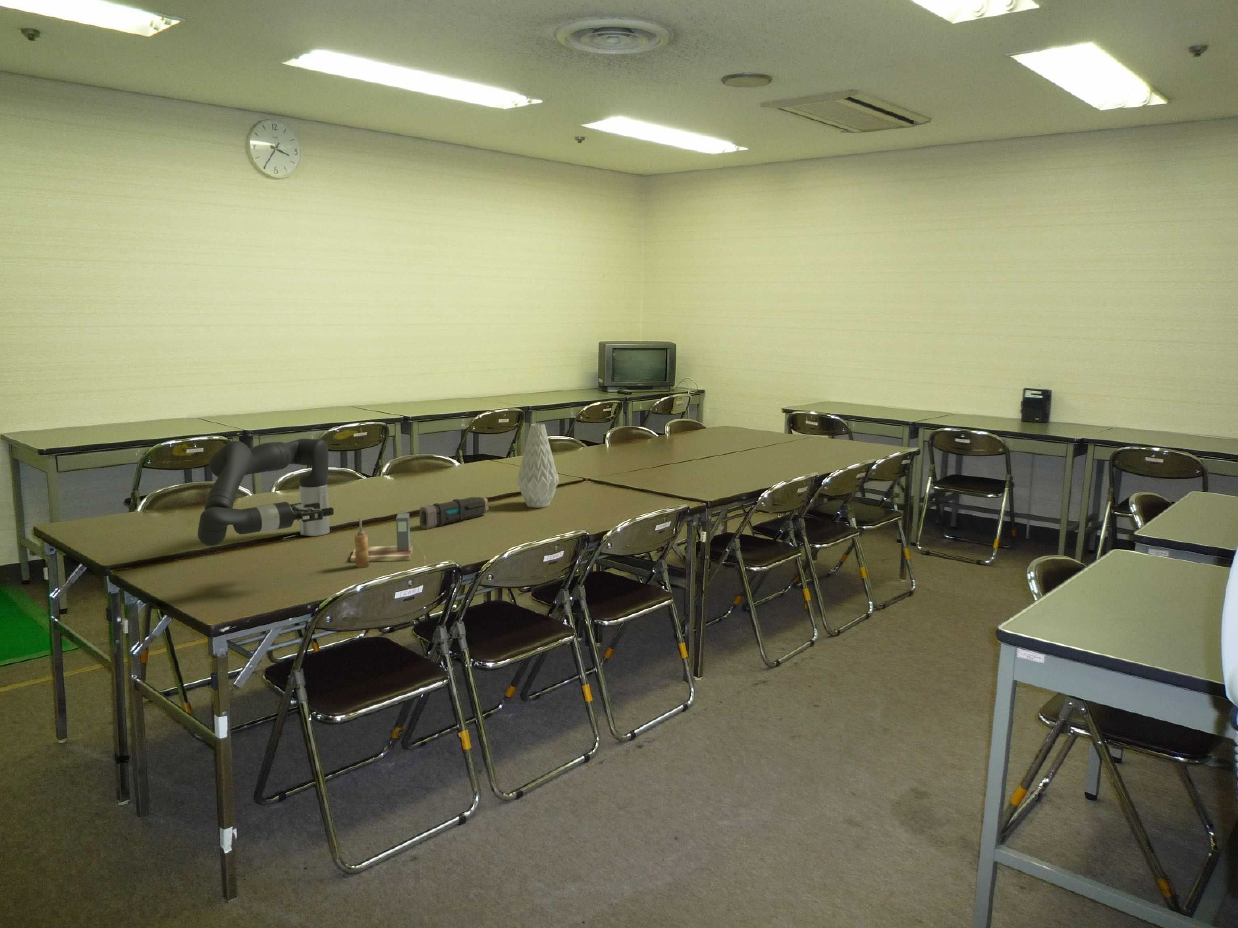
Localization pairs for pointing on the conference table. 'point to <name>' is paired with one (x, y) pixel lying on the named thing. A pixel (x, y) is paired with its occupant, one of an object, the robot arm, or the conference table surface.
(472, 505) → the tube
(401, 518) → the block
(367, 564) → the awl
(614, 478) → the conference table surface
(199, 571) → the conference table surface
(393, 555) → the board
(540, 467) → the vase
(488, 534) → the conference table surface
